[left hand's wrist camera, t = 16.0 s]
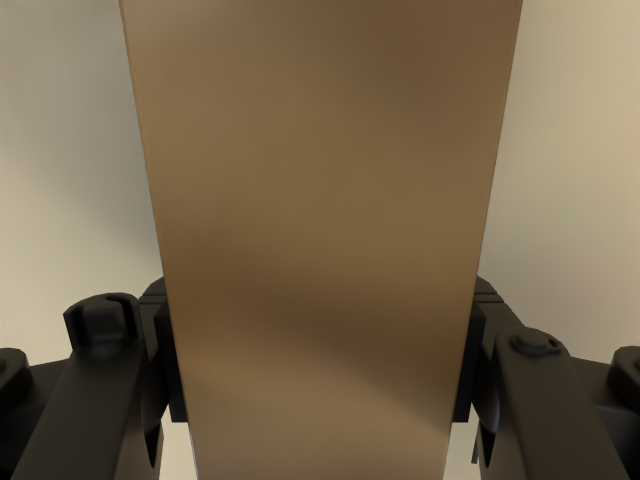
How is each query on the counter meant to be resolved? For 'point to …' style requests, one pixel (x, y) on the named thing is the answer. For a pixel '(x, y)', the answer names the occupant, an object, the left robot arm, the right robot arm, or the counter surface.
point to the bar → (320, 220)
